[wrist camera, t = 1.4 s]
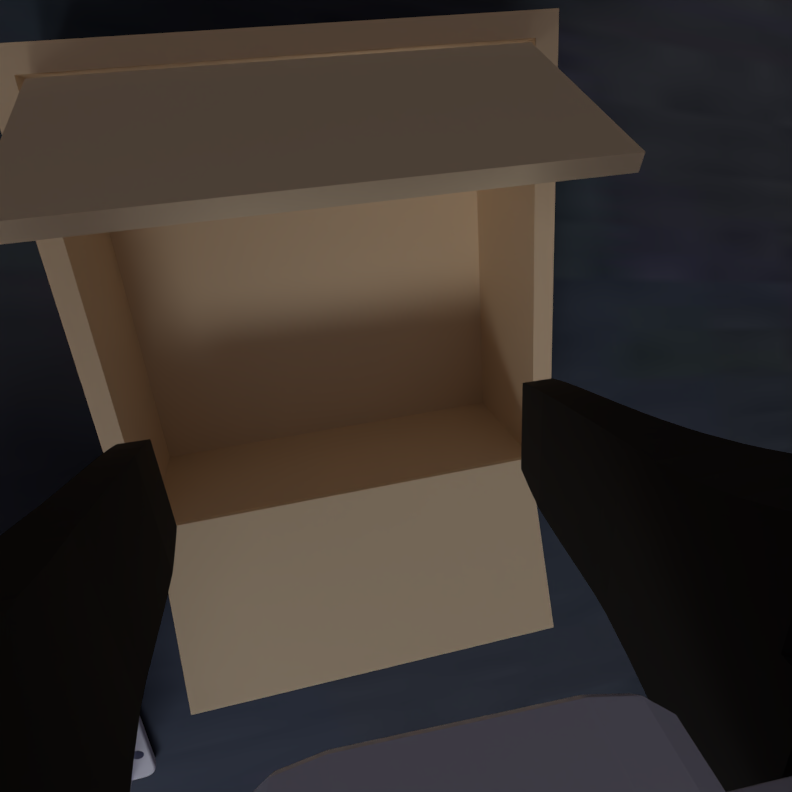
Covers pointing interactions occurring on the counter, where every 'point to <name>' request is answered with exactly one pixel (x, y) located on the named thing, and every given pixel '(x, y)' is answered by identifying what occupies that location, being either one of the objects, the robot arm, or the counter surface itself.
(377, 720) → the counter surface
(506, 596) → the flap
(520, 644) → the counter surface
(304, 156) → the flap
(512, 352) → the cardboard box
